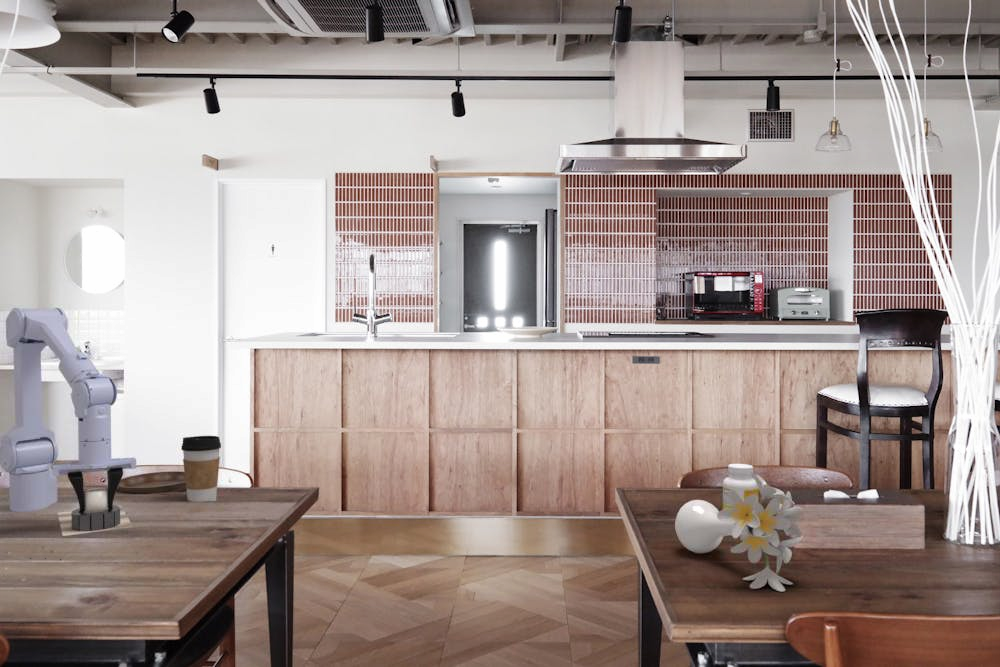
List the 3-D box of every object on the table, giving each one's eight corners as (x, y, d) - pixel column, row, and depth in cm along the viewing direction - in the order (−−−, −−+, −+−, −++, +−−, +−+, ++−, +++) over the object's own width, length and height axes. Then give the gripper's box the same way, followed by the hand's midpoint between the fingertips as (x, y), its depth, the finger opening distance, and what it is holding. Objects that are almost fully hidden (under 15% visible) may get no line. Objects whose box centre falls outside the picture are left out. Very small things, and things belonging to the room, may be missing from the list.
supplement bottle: (760, 528, 155) (760, 464, 155) (756, 537, 149) (756, 470, 149) (725, 524, 158) (726, 461, 158) (720, 533, 152) (720, 467, 152)
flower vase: (677, 591, 139) (771, 602, 117) (647, 489, 142) (733, 480, 119) (735, 568, 144) (835, 575, 122) (704, 470, 147) (797, 459, 124)
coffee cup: (173, 505, 174) (172, 438, 174) (201, 497, 182) (200, 432, 182) (203, 508, 171) (202, 440, 171) (230, 500, 179) (229, 434, 179)
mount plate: (57, 517, 164) (57, 512, 164) (120, 509, 170) (120, 505, 170) (62, 541, 147) (62, 535, 147) (133, 531, 153) (133, 526, 153)
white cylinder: (90, 512, 157) (90, 487, 156) (112, 512, 157) (112, 487, 156) (78, 518, 152) (78, 492, 152) (101, 518, 152) (101, 492, 152)
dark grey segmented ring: (86, 519, 159) (85, 504, 159) (127, 519, 159) (127, 504, 159) (62, 531, 150) (62, 515, 150) (106, 531, 150) (106, 515, 150)
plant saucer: (107, 501, 179) (107, 488, 179) (124, 485, 196) (124, 473, 196) (190, 497, 183) (190, 484, 183) (199, 481, 200) (199, 469, 200)
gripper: (53, 445, 147) (54, 518, 147) (138, 439, 154) (139, 507, 155) (51, 440, 153) (52, 510, 153) (133, 434, 160) (134, 500, 161)
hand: (95, 508), depth 154 cm, fingers closed on white cylinder, 4 cm apart
